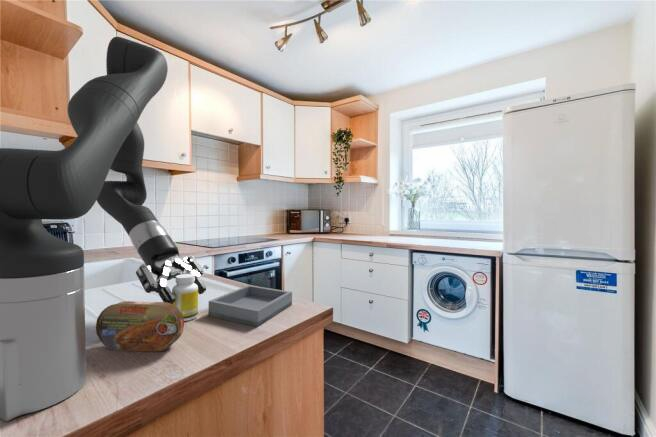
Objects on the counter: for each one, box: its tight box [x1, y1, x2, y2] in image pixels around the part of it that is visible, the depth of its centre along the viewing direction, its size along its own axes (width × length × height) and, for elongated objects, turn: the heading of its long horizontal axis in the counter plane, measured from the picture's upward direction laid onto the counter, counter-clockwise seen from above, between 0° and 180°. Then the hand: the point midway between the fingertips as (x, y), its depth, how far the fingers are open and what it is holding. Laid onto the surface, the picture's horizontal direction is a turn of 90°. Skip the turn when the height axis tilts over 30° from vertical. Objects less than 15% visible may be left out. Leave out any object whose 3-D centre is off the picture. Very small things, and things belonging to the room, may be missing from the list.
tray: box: [207, 284, 293, 328], centre depth 71 cm, size 15×14×4 cm
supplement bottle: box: [171, 274, 199, 322], centre depth 66 cm, size 5×5×10 cm
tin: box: [95, 300, 185, 353], centre depth 52 cm, size 15×3×8 cm, turn 89°
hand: (188, 297), depth 65 cm, fingers open, 8 cm apart
